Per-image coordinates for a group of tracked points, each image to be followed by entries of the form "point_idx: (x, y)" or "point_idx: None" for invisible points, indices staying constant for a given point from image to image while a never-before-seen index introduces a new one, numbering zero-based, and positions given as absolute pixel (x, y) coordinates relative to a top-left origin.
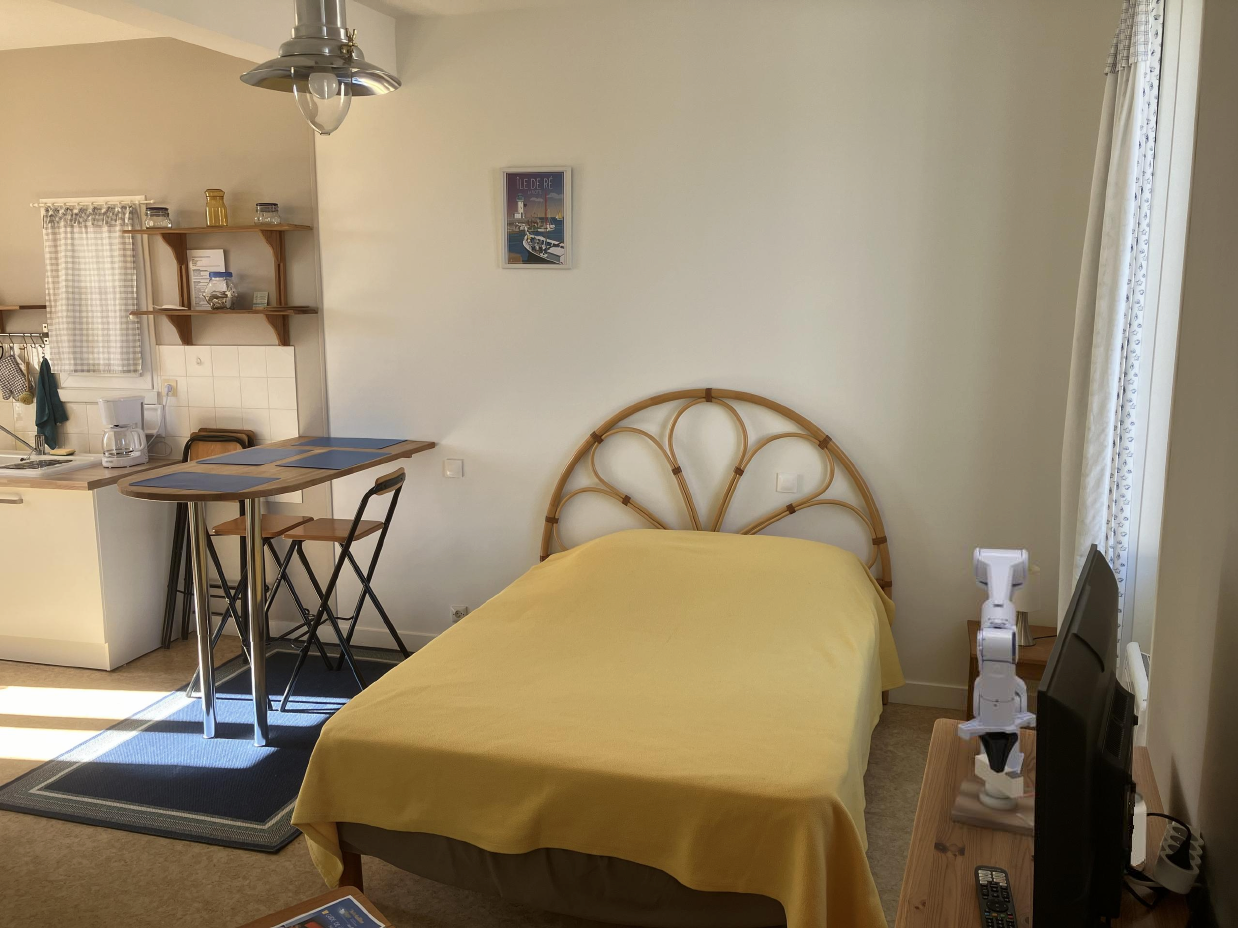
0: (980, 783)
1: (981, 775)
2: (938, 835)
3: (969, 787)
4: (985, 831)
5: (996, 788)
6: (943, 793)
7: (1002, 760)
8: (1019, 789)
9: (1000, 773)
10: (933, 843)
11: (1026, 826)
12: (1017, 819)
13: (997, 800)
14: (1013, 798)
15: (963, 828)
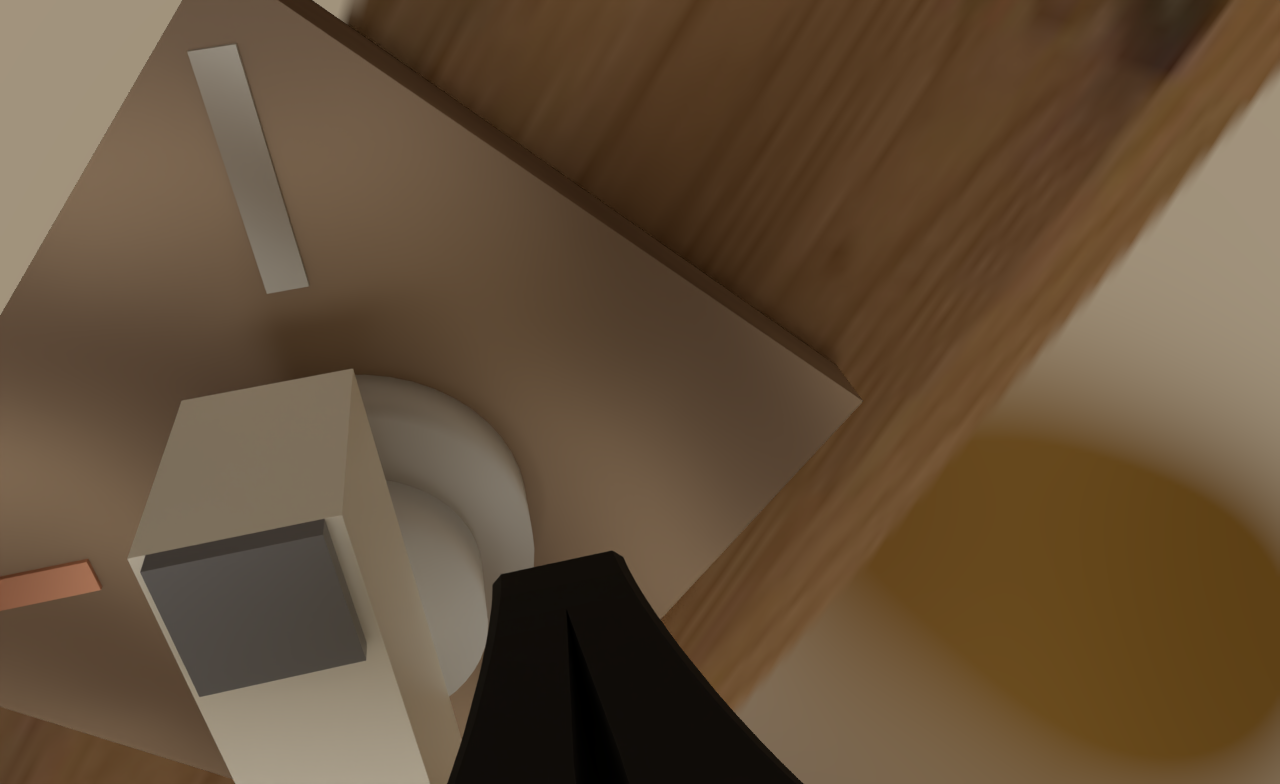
0: None
1: None
2: (1066, 177)
3: None
4: (669, 158)
5: (420, 566)
6: None
7: (574, 714)
8: (225, 437)
9: (399, 675)
10: (1186, 66)
11: (305, 34)
12: (336, 191)
13: (433, 458)
14: None
15: (816, 241)
